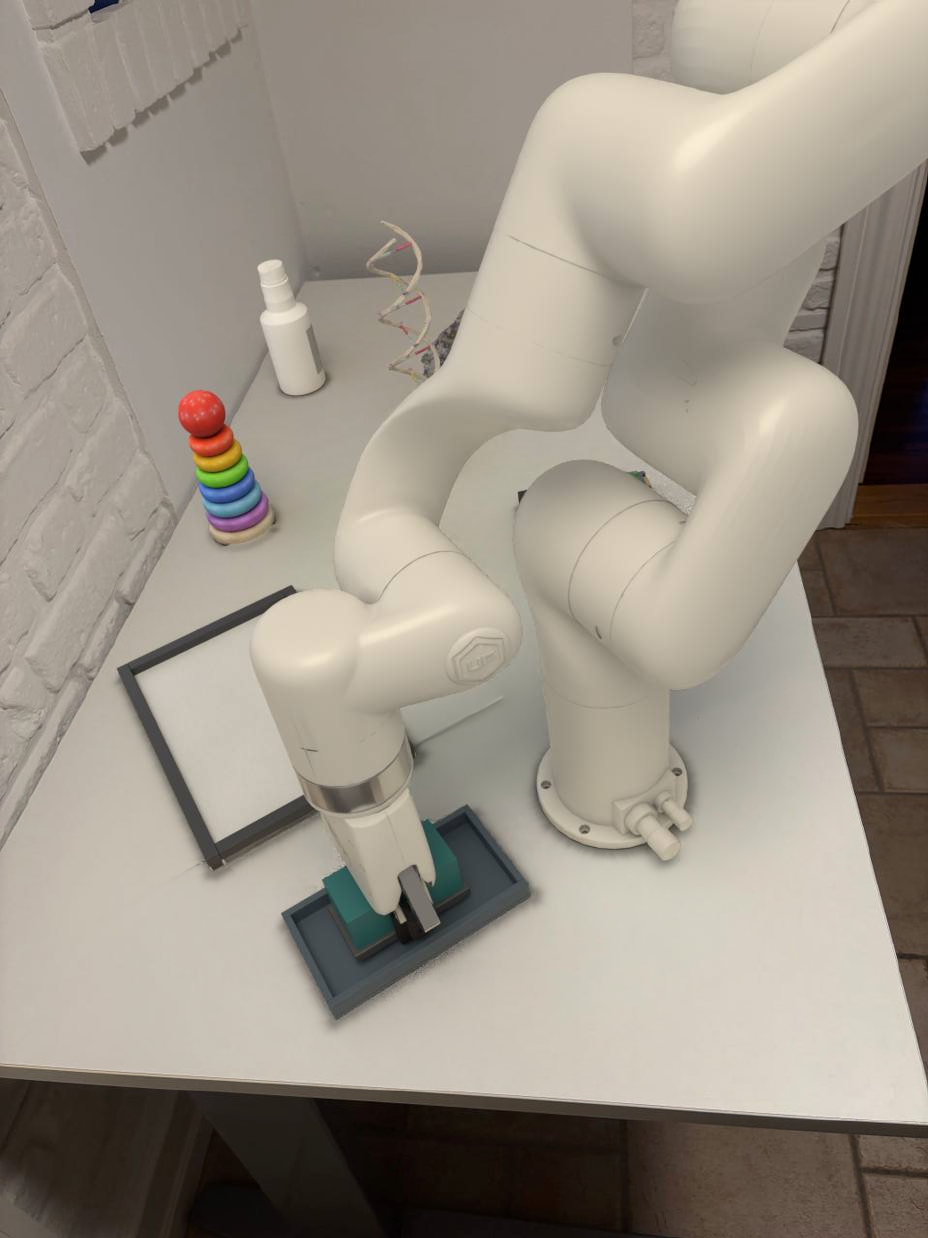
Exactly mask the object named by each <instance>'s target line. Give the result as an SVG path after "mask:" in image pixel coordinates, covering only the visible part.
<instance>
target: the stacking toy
mask: <svg viewBox="0 0 928 1238" xmlns="http://www.w3.org/2000/svg"><path fill="white" fill-rule="evenodd" d="M226 415H227V414H226V408H225V405H224V403H223V401H222V400H221V398H220V397H219V396H218V395H216V394H215V393H214V392H212V391H209V390H205V389H196V390H192V391H190V392H187V393H186V394H185V395H184V396H183V397H182V398H181V400H180V401H179V403H178V406H177V417H178V420H179V423H180V425H181V427H182V428H183V430H185V432H187V433H189V436H188V446H189V448H190V450H191V451H192V452H193V454H192V458H193V462H194V465H195V466H196V468H195V474H196V478H197V480H198V490H199V491H198V492H199V493H200V494H201V504H202V506H203V508H204V510H205V511H206V512H205V516H206V519H207V521H208V530H209V533H210V536H211V537H212V538H213V540H215V541H216V542H218V543H219V544H221V545H225V546H230V545H234V544H242V543H246V542H250V541H252V540H254V539H257V538H258V537H260V536H261V535H263V534H264V533H266V532H267V531H268V530H269V529H270V527H271V526H273V524H274V522H275V511H274V509H273V507H272V506H271V504H270V503H269V498H268V496H267V494H266V493H265V492H264V491H263V490H262V488H261V485H260V483H259V482H258V480H257V479H256V477H255V473H254V471H253V468H251V467H250V465H249V460H248V458H247V456H246V455H245V454H244V453H243V447H242V445H241V443H240V442H239V441H238V440H237V439H236V438H235V435H234V431H233V430H232V429H231V427H230V426H229V425H227V424H226V417H227V416H226Z"/></svg>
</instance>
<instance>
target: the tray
mask: <svg viewBox="0 0 928 1238" xmlns="http://www.w3.org/2000/svg"><path fill="white" fill-rule="evenodd" d="M432 825H433V826H434V827H435V829H436V830H437V832H438V833H439V834H440V836H441V837H442V839H443V840H444V841H445V843H446V844H447V846H448V847H449V848H450V850H451V851H452V853H453V854H454V855H455V857H456V858H457V862H458V866H459V870H460V874H461V876H462V877H463V878H464V880H465V881H466V883H467V884H468V885H469V887H470V891H471V894H470V895H469V896H467V897H466V898H464V899H462V900H461V901H459V902H457V903H456V904H454V905H452V906H451V907H449V908H448V909H446V910H444V911H443V912H441V913H439V914H438V915H437V916H438V918H439V920H440V924H439V925H437V926H435V927H434V928H432V929H431V930H430V932H429V933H428V934H427V935H425V936H423V937H422V938H420V939H418V940H414V939H413V940H411V941H410V942H408V943H406V944H404V945H402V944H401V943H400V941H399V939H397V940H395V941H393V942H392V943H390V944H389V945H387V946H385V947H384V948H382V949H380V950H379V951H377V952H375V953H374V954H372V955H371V956H369V957H367V958H366V959H364V960H362V961H361V962H359V963H357V961H356V959H355V958H354V956H353V954H352V952H351V950H350V949H349V947H348V945H347V943H346V941H345V940H344V938H343V936H342V934H341V933H340V931H339V929H338V927H337V925H336V924H335V922H334V920H333V918H332V916H331V915H330V912H329V910H328V907H329V906H331V905H332V903H331V900H330V898H329V896H328V893H327V891H326V889H325V887H323V888H321V889H319V890H318V891H316V892H314V893H313V894H311V895H309V896H308V897H306V898H304V899H302V900H301V901H299V902H297V903H295V904H294V905H292V906H290V907H289V908H287V909H286V910H283V911H282V912H281V913H280V915H281V917H282V919H283V921H284V923H285V924H286V926H287V929H288V931H289V933H290V935H291V936H292V938H293V940H294V942H295V944H296V946H297V949H298V950H299V952H300V954H301V957H302V958H303V960H304V962H305V964H306V965H307V968H308V969H309V972H310V973H311V975H312V978H313V979H314V982H315V983H316V985H317V987H318V989H319V991H320V994H321V995H322V997H323V999H324V1001H325V1003H326V1005H327V1007H328V1009H329V1010H330V1012H331V1014H332V1016H333V1018H334V1020H335V1021H337V1020H338V1019H340V1018H342V1017H343V1016H345V1015H346V1014H348V1013H350V1012H351V1011H352V1010H354V1009H356V1008H357V1007H359V1006H361V1005H362V1004H364V1003H365V1002H367V1001H369V1000H370V999H371V998H373V997H375V996H376V995H378V994H379V993H381V992H383V991H384V990H386V989H387V988H389V987H390V986H392V985H394V984H395V983H397V982H398V981H401V980H402V979H403V978H405V977H406V976H408V975H410V974H411V973H412V972H414V971H415V970H417V969H419V968H421V967H422V966H423V965H425V964H426V963H429V962H430V961H431V960H433V959H435V958H436V957H437V956H440V955H441V954H442V953H444V952H446V951H447V950H449V949H450V948H452V947H454V946H455V945H457V944H458V943H460V942H462V941H463V940H465V939H466V938H468V937H470V936H471V935H473V934H474V933H475V932H477V931H478V930H481V929H482V928H483V927H485V926H487V925H488V924H490V923H492V922H493V921H495V920H497V919H498V918H499V917H501V916H502V915H504V914H505V913H507V912H509V911H510V910H512V909H513V908H515V907H517V906H518V905H520V904H521V903H523V902H525V901H526V900H527V899H529V898H531V892H530V887H529V882H528V881H527V879H525V878H524V876H523V875H522V874H521V872H520V871H519V869H518V868H517V867H516V866H515V864H514V863H513V862H512V860H511V859H510V858H509V857H508V855H507V854H506V852H505V851H504V850H503V849H502V847H501V846H500V845H499V843H498V842H497V841H496V839H494V837H493V836H492V834H491V833H490V832H489V830H488V828H486V826H485V825H484V824H483V823H482V821H481V820H480V819H479V817H478V816H477V815H476V814H475V812H474V811H473V810H472V808H471V807H470V806H469V804H464V805H462V806H461V807H459V808H458V809H456V810H454V811H453V812H451V813H449V814H448V815H445V816H444V817H443V818H441V819H439V820H437V821H436V822H433V823H432Z"/></svg>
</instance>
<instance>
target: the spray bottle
mask: <svg viewBox="0 0 928 1238" xmlns="http://www.w3.org/2000/svg"><path fill="white" fill-rule="evenodd" d="M257 272H258V275H259V279H260V280H259V281H260V283H259V284H260V289H261V291H262V295H263V300H264V304H265V307H266V308H265V310H263V311H262V313H261V314H260V316H259V322H260V326H261V328H262V329H261V330H262V332H263V337H264V339H265V343H266V345H267V349H268V352H269V355H270V359H271V362H272V365H273V368H274V371H275V375H276V379H277V381H278V385H279V388H280V390H281V391H282V392H283V393H284V394H286V395H288V396H303V395H307V394H311V393H314V392H315V391H318V390H319V389H320V388H322V387H323V386H324V385H325V382H326V380H327V378H326V373H325V370H324V365H323V362H322V358H321V354H320V350H319V347H318V343H317V339H316V335H315V332H314V327H313V325H312V320H311V316H310V312H309V309H308V306H307V305H305V303H302V302H299V301H296V299H295V295H294V292H293V290H292V287H291V283H290V279H289V277H288V275H287V273H286V271H285V268H284V264H283V261H282V260H280V259H269V260H265V261H263V262H261V263H259V264H258V265H257Z"/></svg>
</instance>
